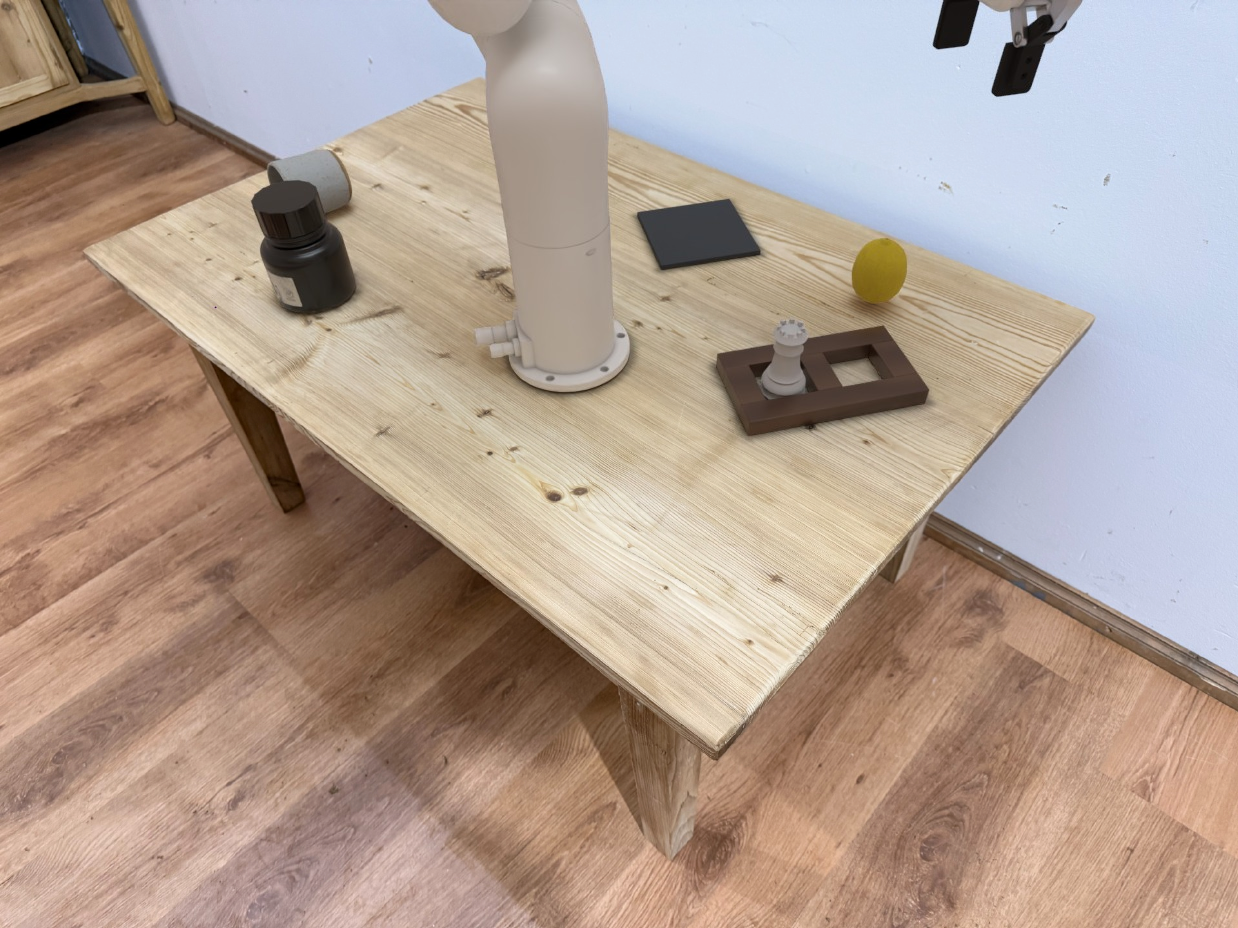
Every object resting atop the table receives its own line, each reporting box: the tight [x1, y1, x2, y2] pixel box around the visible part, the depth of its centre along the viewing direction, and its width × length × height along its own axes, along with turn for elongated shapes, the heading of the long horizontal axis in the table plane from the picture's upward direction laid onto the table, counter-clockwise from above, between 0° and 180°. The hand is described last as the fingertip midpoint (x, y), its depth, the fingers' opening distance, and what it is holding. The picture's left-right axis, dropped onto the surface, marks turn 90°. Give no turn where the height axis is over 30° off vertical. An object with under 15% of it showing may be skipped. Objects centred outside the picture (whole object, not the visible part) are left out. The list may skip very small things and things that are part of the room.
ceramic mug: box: [266, 148, 353, 214], centre depth 107 cm, size 11×8×8 cm
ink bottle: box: [250, 180, 357, 314], centre depth 93 cm, size 10×9×12 cm
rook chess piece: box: [759, 317, 809, 400], centre depth 81 cm, size 4×4×8 cm
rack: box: [715, 324, 930, 436], centre depth 83 cm, size 10×18×2 cm, turn 103°
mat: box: [636, 198, 762, 271], centre depth 103 cm, size 12×12×1 cm
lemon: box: [851, 237, 908, 305], centre depth 90 cm, size 6×6×8 cm
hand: (978, 69), depth 71 cm, fingers open, 9 cm apart
